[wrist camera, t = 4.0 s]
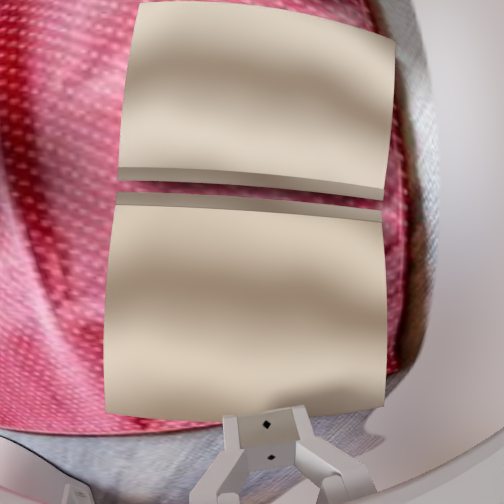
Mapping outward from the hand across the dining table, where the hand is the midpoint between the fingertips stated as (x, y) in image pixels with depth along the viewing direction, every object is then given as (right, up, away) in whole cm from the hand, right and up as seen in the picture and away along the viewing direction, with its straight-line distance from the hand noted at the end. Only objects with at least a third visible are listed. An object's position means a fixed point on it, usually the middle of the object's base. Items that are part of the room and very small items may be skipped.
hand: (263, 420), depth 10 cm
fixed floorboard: (0, +14, +4) cm, 15 cm away
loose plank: (-1, +3, +4) cm, 6 cm away
